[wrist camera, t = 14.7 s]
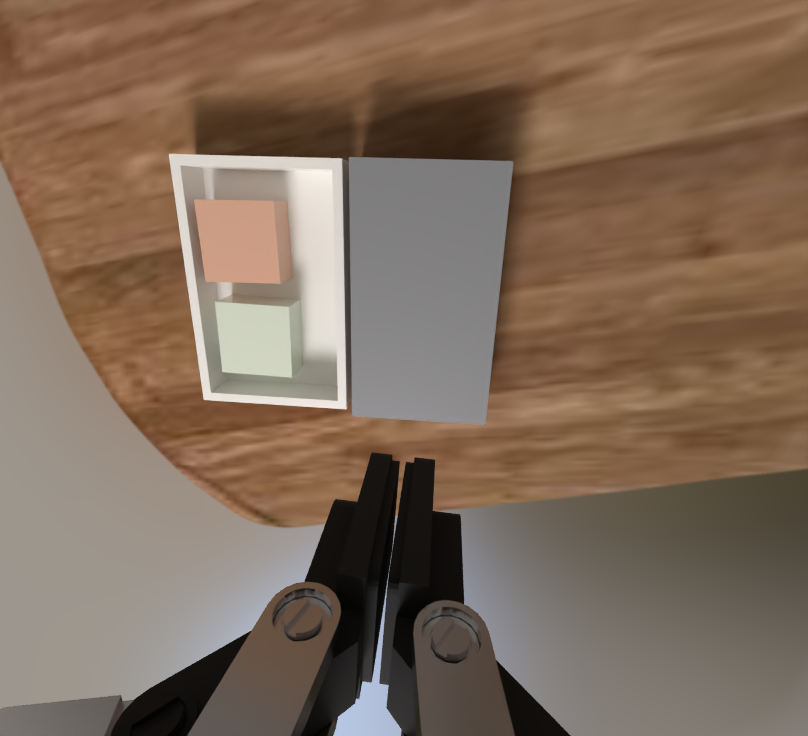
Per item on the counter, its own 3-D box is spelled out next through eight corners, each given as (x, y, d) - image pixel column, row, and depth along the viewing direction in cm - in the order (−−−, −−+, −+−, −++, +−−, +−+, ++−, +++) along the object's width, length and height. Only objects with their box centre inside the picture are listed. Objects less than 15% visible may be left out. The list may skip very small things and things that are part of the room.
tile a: (273, 200, 27) (287, 200, 29) (193, 199, 27) (213, 199, 29) (280, 283, 28) (292, 277, 31) (205, 281, 29) (223, 275, 31)
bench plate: (361, 163, 28) (348, 156, 24) (504, 166, 28) (513, 161, 24) (362, 392, 34) (352, 416, 30) (480, 399, 33) (485, 424, 29)
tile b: (288, 306, 29) (300, 299, 31) (215, 301, 29) (231, 294, 32) (292, 377, 31) (302, 365, 33) (222, 372, 31) (237, 360, 33)
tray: (195, 158, 29) (168, 153, 26) (352, 162, 28) (342, 158, 25) (223, 383, 35) (203, 399, 32) (354, 392, 34) (346, 409, 31)
